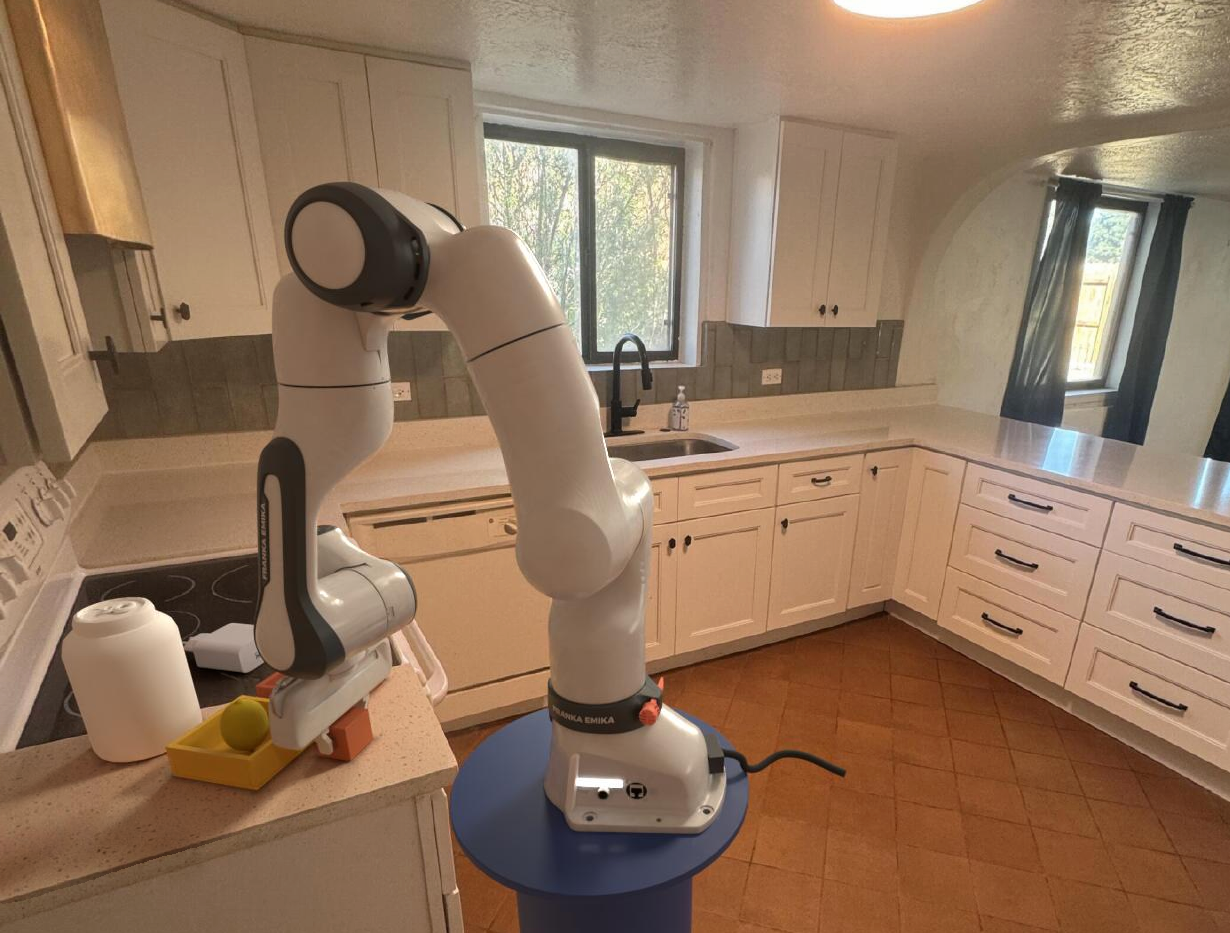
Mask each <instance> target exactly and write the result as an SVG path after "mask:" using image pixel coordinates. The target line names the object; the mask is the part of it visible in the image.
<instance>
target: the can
mask: <svg viewBox="0 0 1230 933" xmlns="http://www.w3.org/2000/svg"><path fill="white" fill-rule="evenodd" d="M71 628H72V629H71V630H70V632H69V633H67V635H66V636H65V637H64V638H63V640H62V644H61V660H62V663H63V666H64V669H65V671H66V672H65V673H66V675H67V677H68V680H69V683H70V687H71V689H72V692H73V696H74V698H75V701H76V704H77V707H78V710H79V712H80V716H81V718H82V722H83V724H84V728H85V730H86V733H87V735H88V739H89V742H90V744H91V747H92V750H93V753H95V755H97V756H98V757H99V758H100V759H101V760H104V761H107V762H110V763H131V762H137V761H142V760H147V759H151V758H153V757H157V756H161V755H163V754H165V753H167V752H166V748H165V747H166V746H167V745H169V744H170V743H172V742H173V741H175V740H176V739H178V738H179V737H181V736H182V735H184V734H185V733H186V732H188V731H189V730H191V729H192V728H194V727H195V726H197V725H198V724H200V723H201V722H203V721H204V720H203V715H202V710H201V708H200V707H201V706H200V703H199V700H198V695H197V693H196V689H195V685H194V681H193V678H192V674H191V670H190V667H189V663H188V659H187V656H186V651H184V648H183V647H184V644H182V642H183V641H182V637H181V633H180V630H179V627H178V625H177V624H176V622H175V621H174V619H173V618H172V617H171V616H170V615H168V614H167V613H164V612H162V611H159V610H157V609H156V607H155V605H154V604H153V602H152V601H151V600H149V599H147V598H146V597H141V596H140V597H139V596H137V597H136V596H126V597H118V598H113V599H107V600H103V601H100V602H97V603H94V604H91V605H88V606H86V607H84V608H81V609H80V610H78V611H77V612H76V613H75V614H73V617H72V620H71Z"/></svg>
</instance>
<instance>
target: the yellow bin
mask: <svg viewBox="0 0 1230 933" xmlns="http://www.w3.org/2000/svg"><path fill="white" fill-rule="evenodd" d="M237 699H250V700H254V701H256V702H258V703H259V704H260V705H261V706H262V707H263V708H264V709H265V711H266V713H267V716H268V719H269V699H266V698H259V697H257V696H250V695H244V694H241V695H240V696H238V697H236V698H235V699H234V700H232V701H231V702H229V703H228V704H226V705H225V706H223V707H222V708H221V709H219V710H218V711H216V712H214V713H213V714H212V715H210V716H208V717H207V718H206V719H204V720H203V721H202V722H201V723H200V724H198V725H197V726H195V727H194V728H192V729H191V730H189V731H188V732H186V733H185V734H184V735H182V736H181V737H179V738H178V739H176V740H175V741H173V742H172V743H170V744H169V745H167V746H166V747H165V748H166V752H165V753H166V755H167V758H168V762H169V764H170V768H171V772H172V775H173V776H174V777H177V778H184V779H190V780H195V781H202V782H207V783H212V784H217V785H224V786H230V787H235V788H242V789H247V790H253V791H258V790H260V789H261V788H262V787H263V786H264V785H266V784H267V783H268V782H269V781H270V780H271V779H272V778H274V777H275V776H276V775H278V773H280V772H281V771H282V770H283V769H284V768H285V767H286V766H288V765H289V764H290V763H291V762H292V761H293V760H294V759H295V758H297V757H298V756H300V754H301V753H302V752H304V751H305V750H306V749H307V748H309V747H310V746H311V745H312V744H313V743H315V741H314V740H312V741H311V742H310V743H309V744H308V745H307V746H305V747H304V748H303V749H301V750H290V749H284V748H280V747H278V746H276V745H274V744H273V742H272V738H271V732H270V726H269V732H268V736H267V738H266V739H265V741H264V742H263V743H262V744H261V745H260V746H258V747H256V748H255V749H254V750H253V751H251V752H249V751H239V750H235V749H233V748H231V747H230V746H228V745H227V744H226V742H225V741H224V739H223V737H222V735H221V731H220V720H221V715H222V713H223V711H224V710H225V708H226V707H227V706H228V705H230V704H231V703H233V702H235V701H236V700H237ZM269 725H270V723H269Z"/></svg>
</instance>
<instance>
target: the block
mask: <svg viewBox="0 0 1230 933" xmlns="http://www.w3.org/2000/svg"><path fill="white" fill-rule="evenodd" d="M370 718H371V717H370V711H369V709H368V708H367V709H365V708H358V707H351V708H350V709H349V710H348V711H346V712H345V713H344V714H343V715H342V716H341V717H339V718H338V719H337V720H336V721H335V722H334V723H332V724H331V725H330V726H329V732H328V733H327V734H326V735H327V736H328V737H333V738H336V741H337V746H338V747H337V749H336V750H335V751H333V752H332V753H331V754H330V755H326V754H321V753H320V752H319V748H318V744H317V743H316V742H315V746H316V751H317V756H318V757H323V758H329V759H336V760H343V761H347V762H352V761H353V760H354V759H355V758H356V757H357V756H358V755H359V754H360V753H361V752H362V751H363V750H364V749H365V748H366V747H367V746H368V745H369V744H370V743H371V742H373V740H374V735H373V729H372V723H371V719H370Z"/></svg>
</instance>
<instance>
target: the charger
mask: <svg viewBox="0 0 1230 933" xmlns="http://www.w3.org/2000/svg"><path fill="white" fill-rule="evenodd" d="M253 628H254V624H246V623H238V622H231V623H228V624H226V625H224V626H222V627H220V628H218V629H216V630H214V631H213V632H211V633H208V632H207V633H202V632H201V633H199V634H197V635H195V636H190V637H189V638H188V641H182V644H183V648H184V652H186V653H187V652H188V653H193V655H194V660H195V663H196V666H197V667H198V668H201V669H202V668H203V669H211V670H220V671H228V672H234V673H235V672H236V673H244V674H246V673H250V672H251V671H253V670H255V669H256V668H258V667H259V666H261V665H262V664H265V662H264V661H263V660H262V658H261V656H260V655H259V653H258V651H257V648H256V645H255V641H254V634H253Z"/></svg>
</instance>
